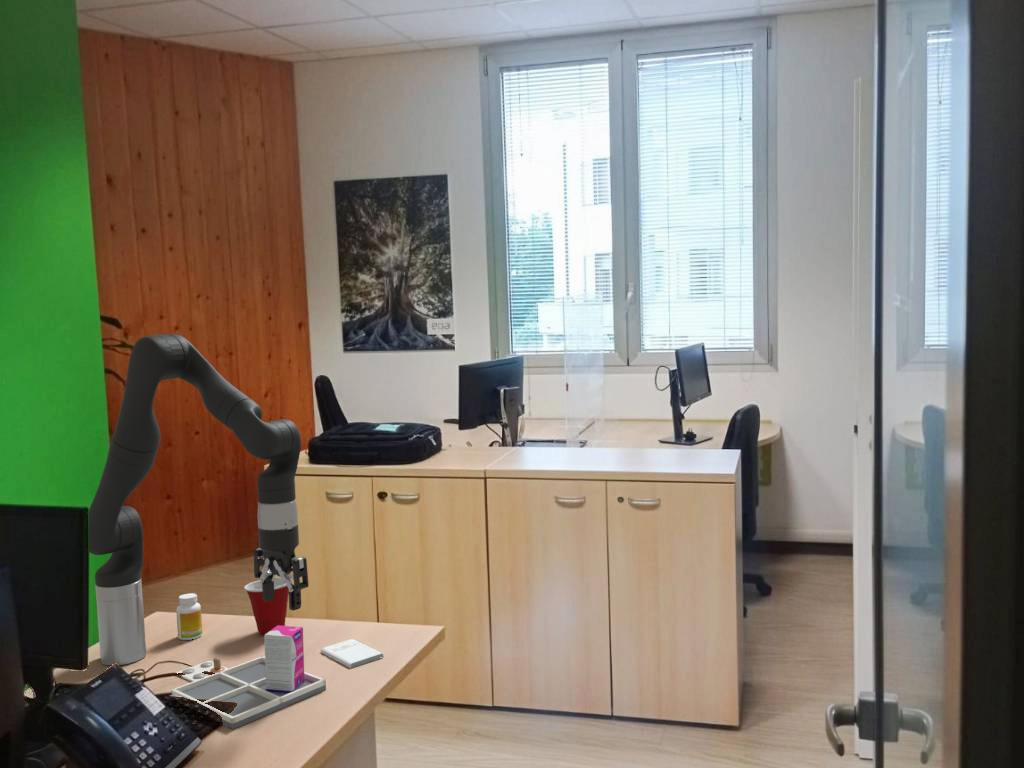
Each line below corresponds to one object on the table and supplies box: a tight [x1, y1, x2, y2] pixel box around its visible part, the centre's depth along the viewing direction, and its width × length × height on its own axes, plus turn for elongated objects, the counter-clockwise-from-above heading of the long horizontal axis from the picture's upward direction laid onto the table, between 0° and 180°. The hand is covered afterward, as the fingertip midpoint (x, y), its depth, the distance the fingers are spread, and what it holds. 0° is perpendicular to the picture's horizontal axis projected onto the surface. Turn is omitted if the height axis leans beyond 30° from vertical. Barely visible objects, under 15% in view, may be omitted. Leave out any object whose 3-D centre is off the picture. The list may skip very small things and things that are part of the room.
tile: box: [175, 657, 230, 683], centre depth 189 cm, size 8×8×3 cm
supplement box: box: [263, 625, 305, 693], centre depth 178 cm, size 6×6×12 cm
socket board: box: [170, 655, 327, 730], centre depth 178 cm, size 21×21×2 cm
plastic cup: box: [243, 576, 293, 636], centre depth 212 cm, size 11×11×12 cm
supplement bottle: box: [175, 593, 203, 641], centre depth 211 cm, size 5×5×10 cm
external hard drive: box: [320, 638, 384, 669], centre depth 197 cm, size 2×8×12 cm
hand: (282, 604), depth 177 cm, fingers open, 8 cm apart
